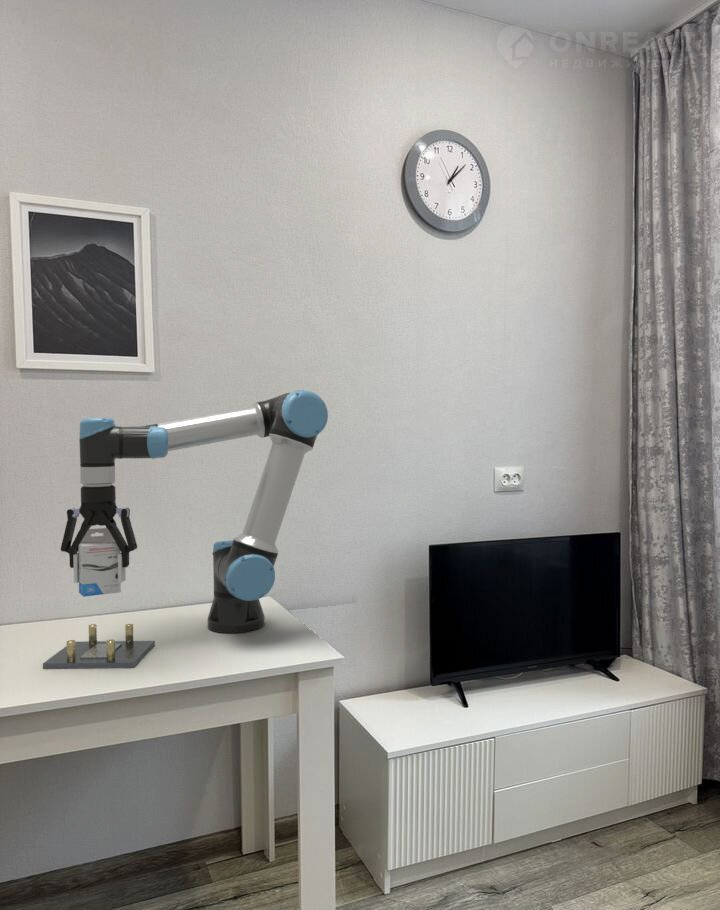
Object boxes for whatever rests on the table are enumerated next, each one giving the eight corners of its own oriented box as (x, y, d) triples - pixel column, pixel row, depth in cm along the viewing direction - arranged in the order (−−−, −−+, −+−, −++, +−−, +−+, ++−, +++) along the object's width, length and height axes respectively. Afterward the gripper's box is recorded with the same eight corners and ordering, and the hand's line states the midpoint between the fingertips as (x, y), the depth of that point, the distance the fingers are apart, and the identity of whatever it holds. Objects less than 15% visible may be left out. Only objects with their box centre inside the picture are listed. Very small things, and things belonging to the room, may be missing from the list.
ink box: (83, 597, 156) (81, 532, 155) (78, 593, 160) (77, 529, 160) (121, 592, 160) (120, 529, 160) (116, 588, 165) (115, 526, 164)
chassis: (154, 645, 169) (154, 622, 168) (134, 667, 153) (133, 642, 152) (72, 646, 168) (71, 623, 168) (43, 668, 152) (42, 643, 152)
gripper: (151, 483, 163) (152, 577, 164) (57, 484, 163) (59, 578, 164) (141, 485, 156) (142, 584, 156) (42, 486, 156) (44, 585, 156)
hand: (99, 581), depth 160 cm, fingers closed on ink box, 9 cm apart
